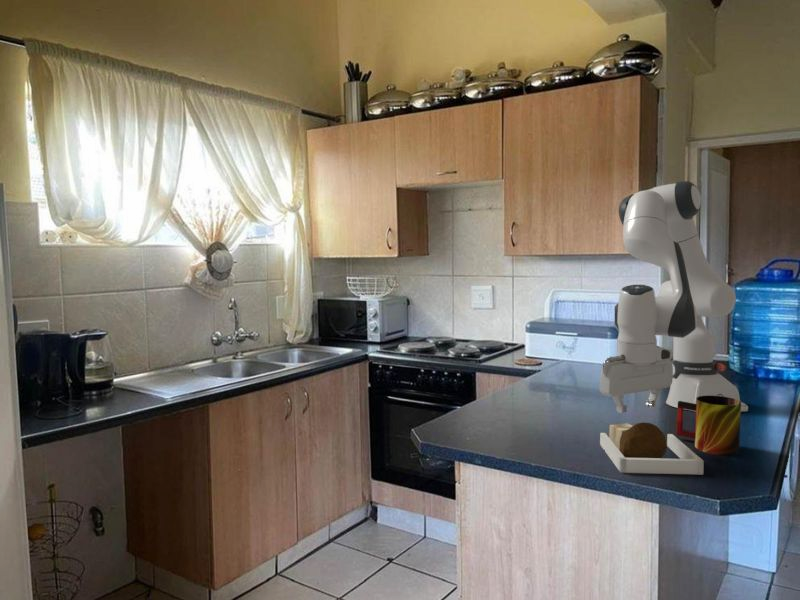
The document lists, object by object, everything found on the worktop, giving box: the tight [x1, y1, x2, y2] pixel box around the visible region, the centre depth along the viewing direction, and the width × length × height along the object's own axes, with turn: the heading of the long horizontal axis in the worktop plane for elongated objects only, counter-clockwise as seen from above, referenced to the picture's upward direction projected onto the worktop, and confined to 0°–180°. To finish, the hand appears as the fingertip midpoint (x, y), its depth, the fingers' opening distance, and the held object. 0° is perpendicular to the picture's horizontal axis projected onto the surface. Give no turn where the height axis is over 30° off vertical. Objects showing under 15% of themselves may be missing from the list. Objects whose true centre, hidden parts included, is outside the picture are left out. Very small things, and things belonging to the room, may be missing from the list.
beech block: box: [608, 422, 633, 449], centre depth 152 cm, size 5×5×5 cm
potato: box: [619, 422, 668, 458], centre depth 142 cm, size 8×12×9 cm
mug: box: [676, 396, 742, 456], centre depth 150 cm, size 10×14×12 cm
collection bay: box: [599, 432, 705, 476], centre depth 143 cm, size 17×19×3 cm
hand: (636, 409), depth 148 cm, fingers open, 8 cm apart
